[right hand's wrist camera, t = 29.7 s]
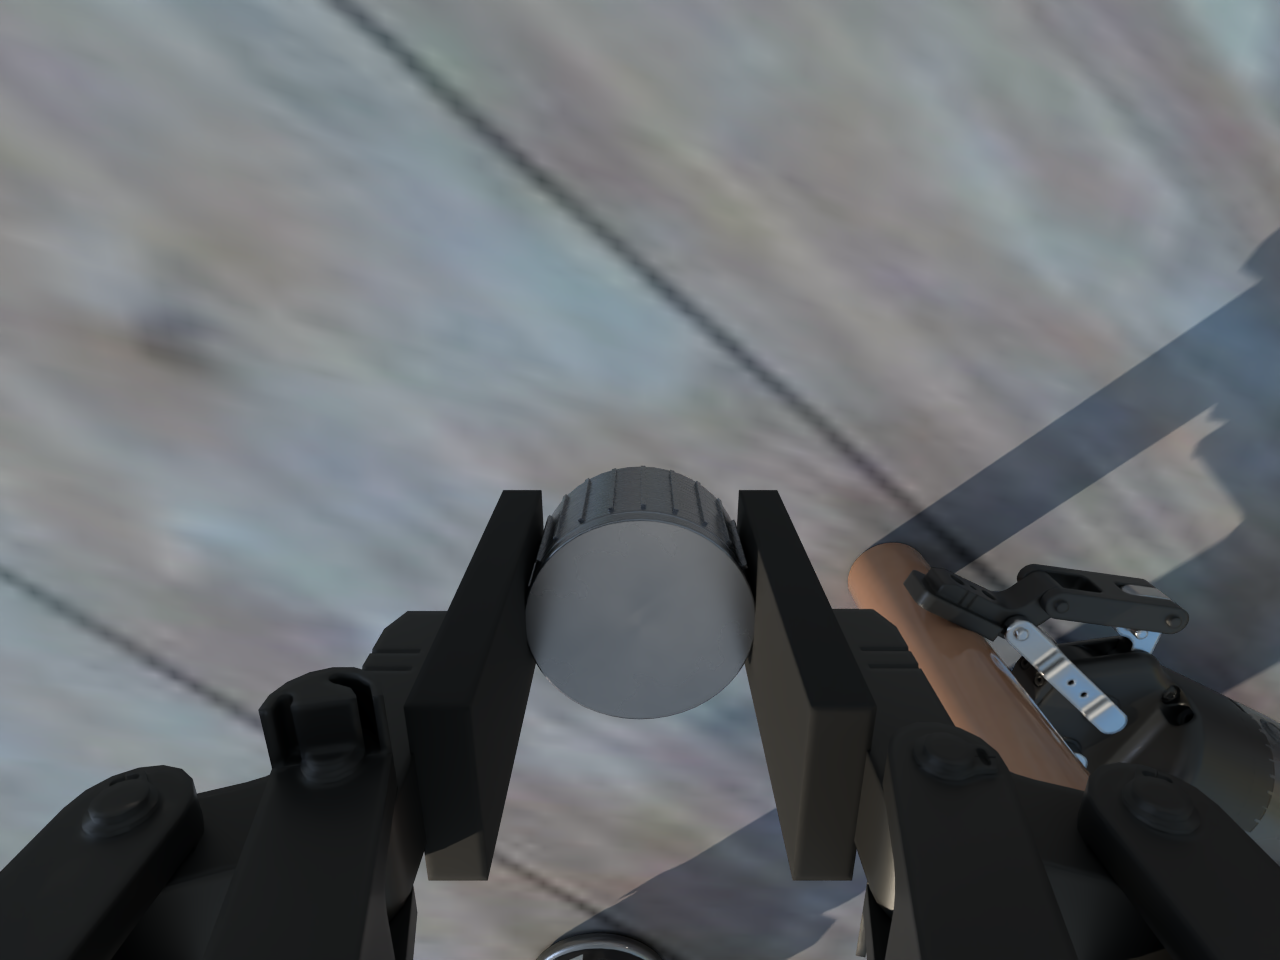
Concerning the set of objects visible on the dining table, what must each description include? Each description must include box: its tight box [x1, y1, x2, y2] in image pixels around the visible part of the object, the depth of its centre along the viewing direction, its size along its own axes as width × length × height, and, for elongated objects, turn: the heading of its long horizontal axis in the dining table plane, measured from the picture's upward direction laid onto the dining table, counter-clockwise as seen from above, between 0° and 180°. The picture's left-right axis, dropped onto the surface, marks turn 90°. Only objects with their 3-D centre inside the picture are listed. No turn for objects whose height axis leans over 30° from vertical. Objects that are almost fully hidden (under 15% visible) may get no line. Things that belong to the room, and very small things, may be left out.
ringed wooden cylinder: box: [848, 543, 1090, 791], centre depth 26 cm, size 4×4×26 cm
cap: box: [525, 466, 756, 719], centre depth 14 cm, size 4×4×2 cm
